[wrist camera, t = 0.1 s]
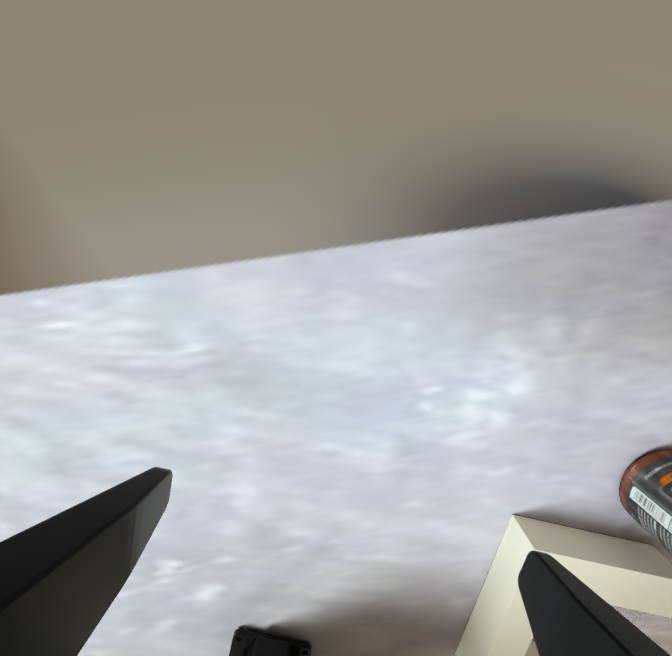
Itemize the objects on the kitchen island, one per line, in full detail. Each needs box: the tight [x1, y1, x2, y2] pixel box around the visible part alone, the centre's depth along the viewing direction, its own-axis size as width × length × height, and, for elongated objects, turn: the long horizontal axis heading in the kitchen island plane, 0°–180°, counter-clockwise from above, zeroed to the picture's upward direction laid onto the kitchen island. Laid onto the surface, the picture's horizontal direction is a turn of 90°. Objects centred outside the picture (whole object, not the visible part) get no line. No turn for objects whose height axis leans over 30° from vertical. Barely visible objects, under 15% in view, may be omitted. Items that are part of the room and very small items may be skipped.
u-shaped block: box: [455, 515, 672, 656], centre depth 25 cm, size 14×11×3 cm
